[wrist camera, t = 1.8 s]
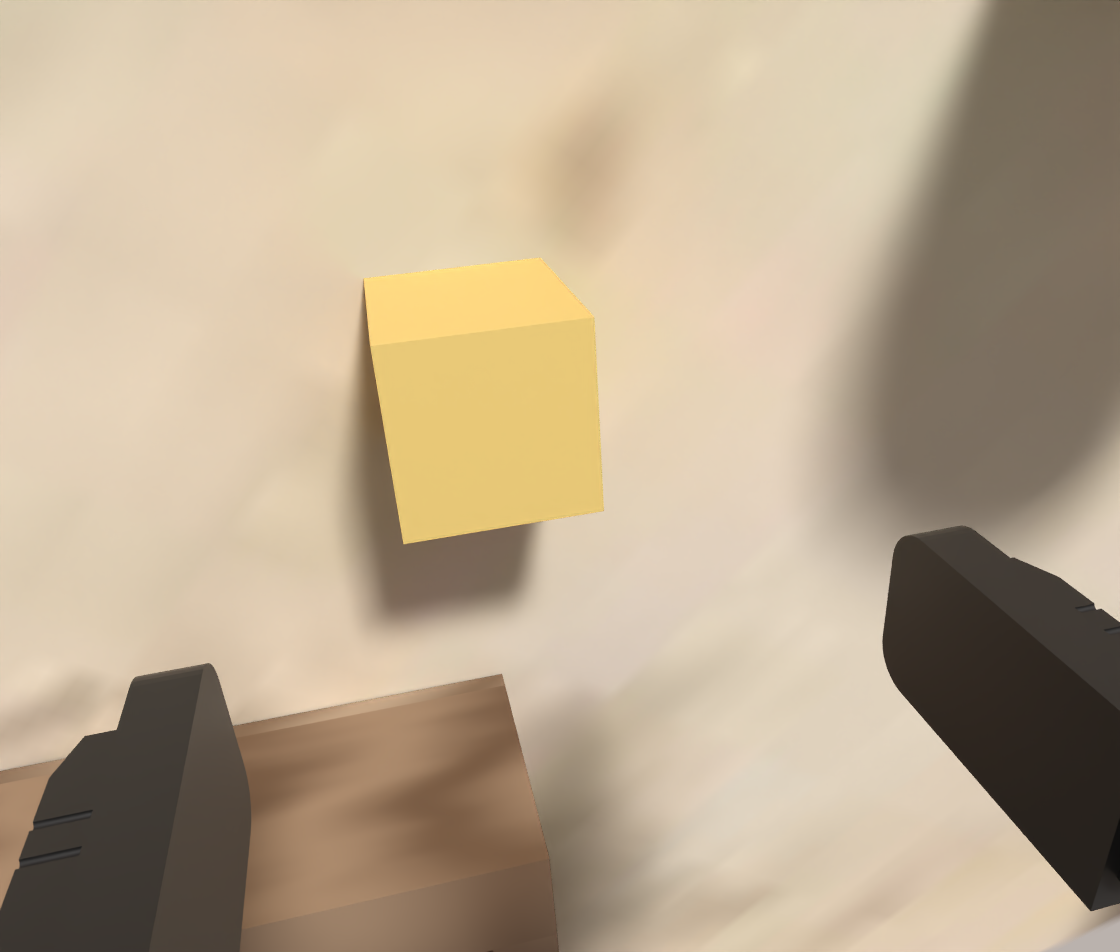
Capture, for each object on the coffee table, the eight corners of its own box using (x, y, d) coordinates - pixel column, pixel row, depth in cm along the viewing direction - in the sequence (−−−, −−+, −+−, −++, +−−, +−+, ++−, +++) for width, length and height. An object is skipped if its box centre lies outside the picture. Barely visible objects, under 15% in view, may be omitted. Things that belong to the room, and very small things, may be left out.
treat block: (540, 257, 21) (593, 317, 16) (551, 418, 22) (603, 510, 18) (363, 277, 20) (370, 345, 16) (390, 442, 22) (403, 544, 17)
